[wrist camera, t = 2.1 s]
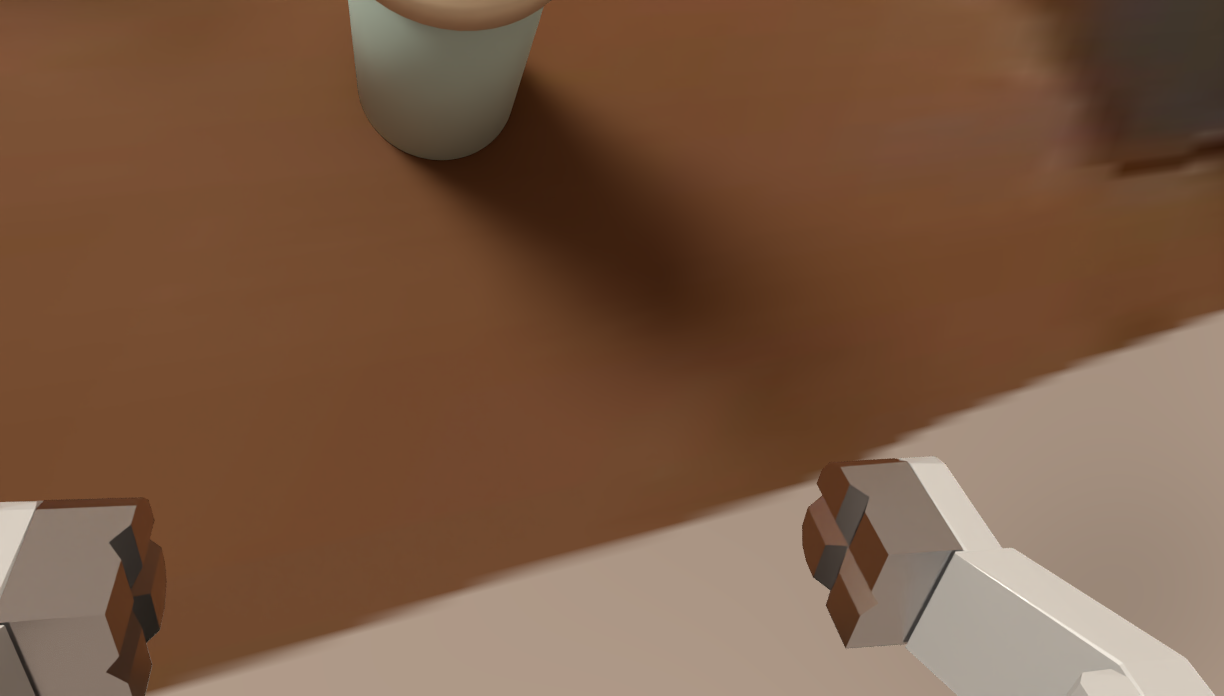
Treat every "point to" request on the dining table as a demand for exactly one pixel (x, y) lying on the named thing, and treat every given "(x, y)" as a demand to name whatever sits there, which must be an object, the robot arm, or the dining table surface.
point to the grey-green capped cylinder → (441, 69)
